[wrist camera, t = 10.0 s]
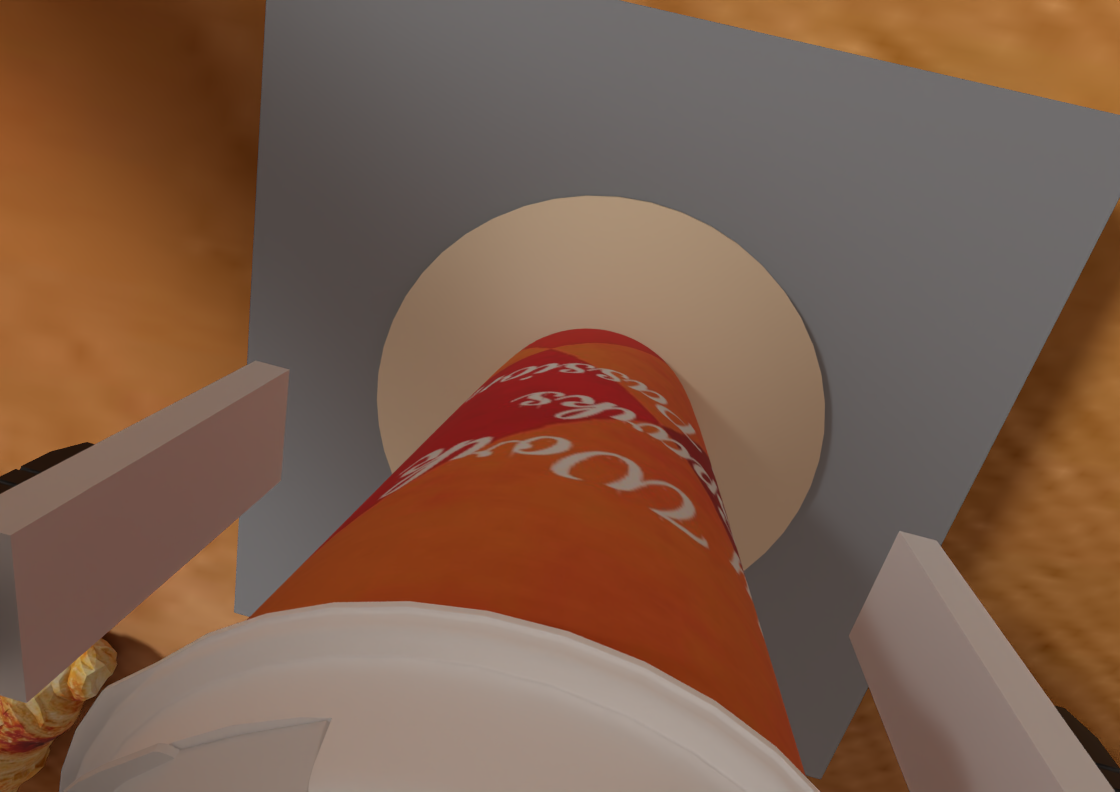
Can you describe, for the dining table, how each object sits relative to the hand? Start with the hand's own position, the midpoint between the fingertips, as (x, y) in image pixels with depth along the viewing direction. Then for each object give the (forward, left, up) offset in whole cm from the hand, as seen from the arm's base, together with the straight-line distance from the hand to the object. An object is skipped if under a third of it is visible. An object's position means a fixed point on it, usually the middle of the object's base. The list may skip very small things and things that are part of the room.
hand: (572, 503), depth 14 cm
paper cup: (0, 0, -4) cm, 4 cm away
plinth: (0, 0, -8) cm, 8 cm away
